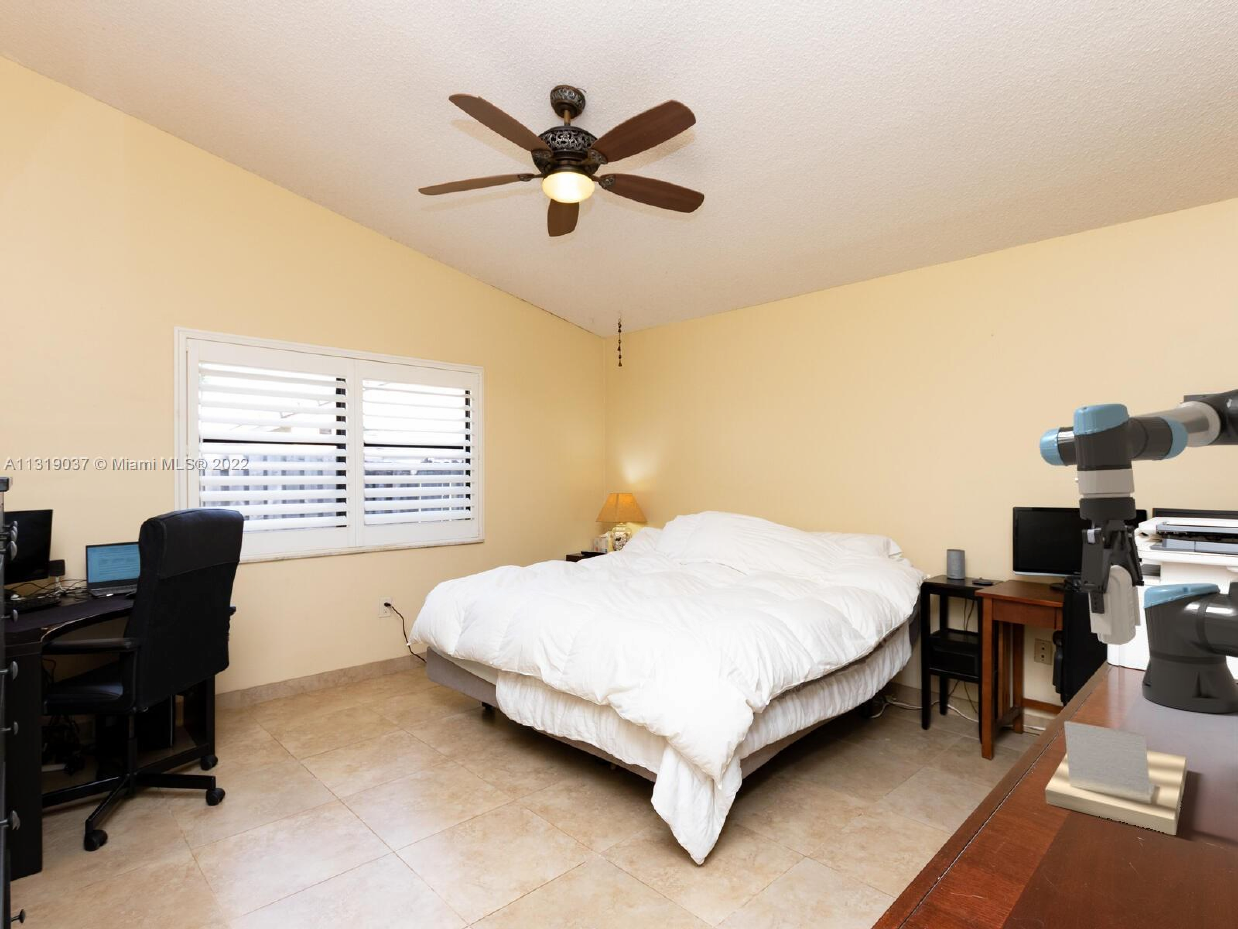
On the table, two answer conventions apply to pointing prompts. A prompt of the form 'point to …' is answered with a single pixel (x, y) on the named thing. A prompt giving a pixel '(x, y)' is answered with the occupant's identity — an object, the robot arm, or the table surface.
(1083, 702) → the table surface
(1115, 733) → the bookend
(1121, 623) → the photo printer
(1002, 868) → the table surface
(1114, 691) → the table surface
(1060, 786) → the shelf board
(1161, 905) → the table surface
